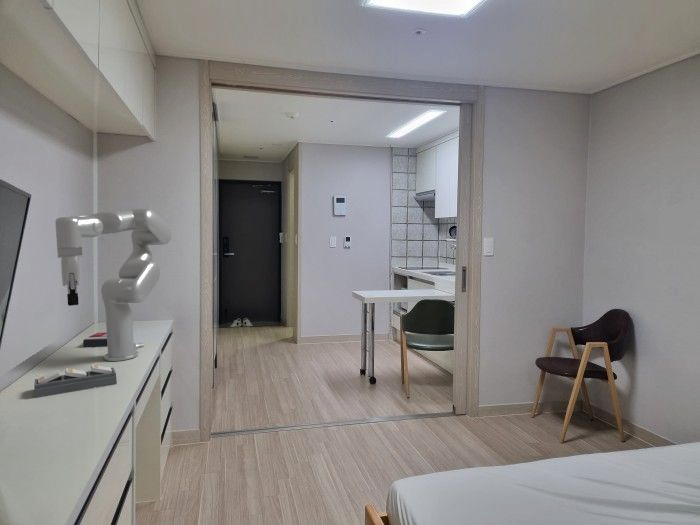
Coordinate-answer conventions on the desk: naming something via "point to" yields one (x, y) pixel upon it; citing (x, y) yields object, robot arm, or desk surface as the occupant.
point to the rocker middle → (75, 373)
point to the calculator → (96, 340)
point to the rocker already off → (101, 369)
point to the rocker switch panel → (74, 383)
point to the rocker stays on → (49, 377)
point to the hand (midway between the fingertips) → (73, 304)
